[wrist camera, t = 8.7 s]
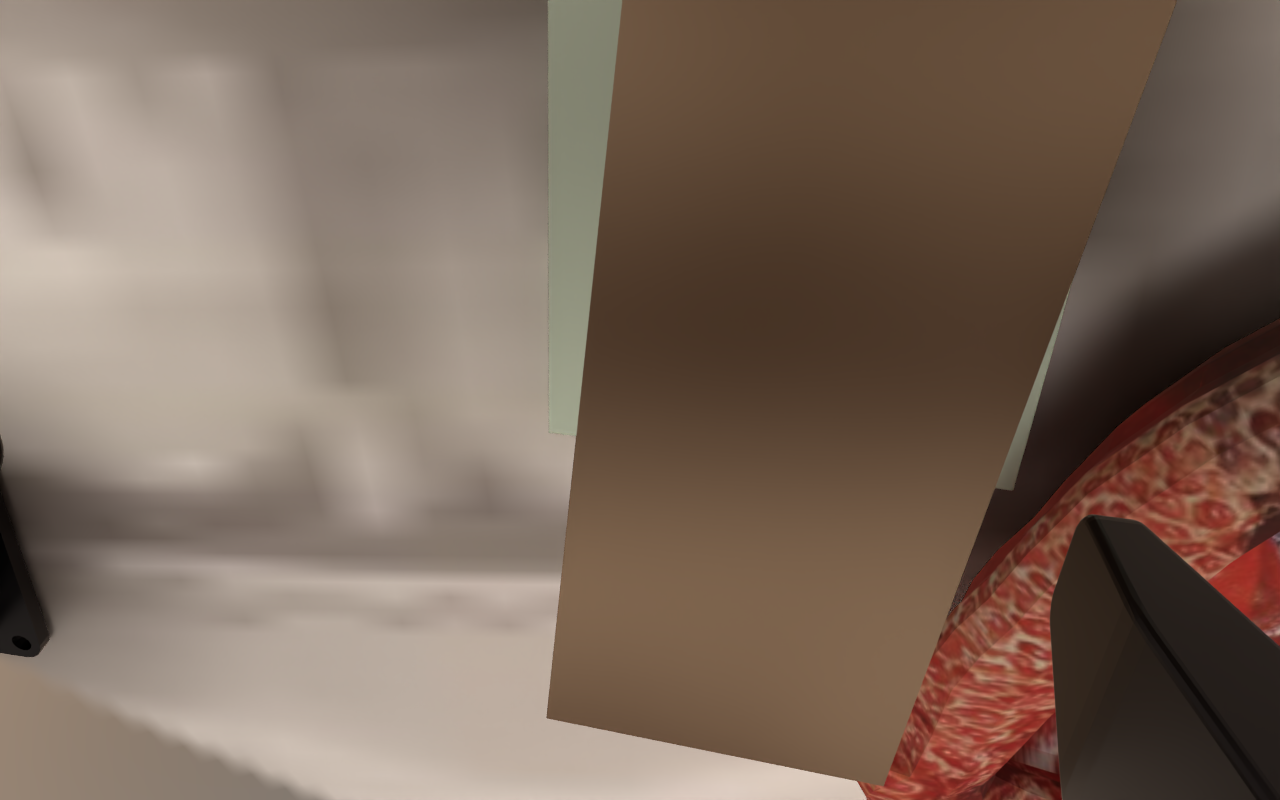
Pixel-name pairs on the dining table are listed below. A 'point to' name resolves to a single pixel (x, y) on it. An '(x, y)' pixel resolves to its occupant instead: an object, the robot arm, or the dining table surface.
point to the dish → (1033, 558)
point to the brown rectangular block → (818, 348)
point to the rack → (575, 181)
